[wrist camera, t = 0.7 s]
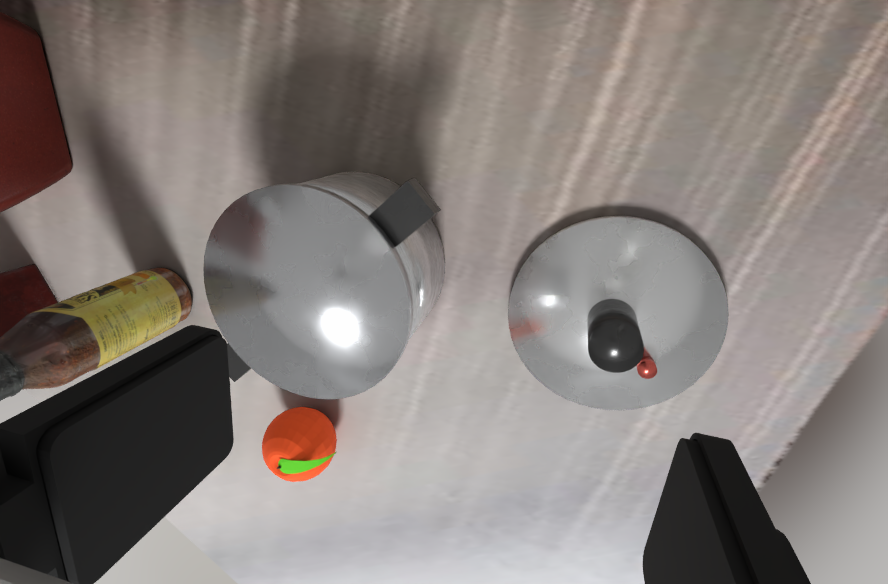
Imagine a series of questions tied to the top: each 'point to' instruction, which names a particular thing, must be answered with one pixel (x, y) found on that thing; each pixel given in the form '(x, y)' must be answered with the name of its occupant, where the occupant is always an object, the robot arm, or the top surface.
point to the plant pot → (27, 117)
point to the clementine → (299, 444)
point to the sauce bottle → (90, 330)
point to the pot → (324, 280)
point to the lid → (618, 313)
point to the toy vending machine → (22, 295)
